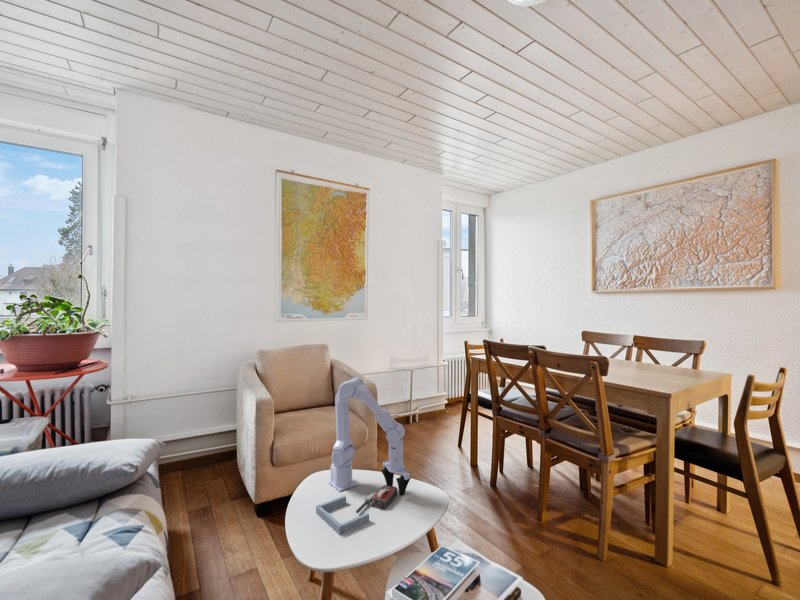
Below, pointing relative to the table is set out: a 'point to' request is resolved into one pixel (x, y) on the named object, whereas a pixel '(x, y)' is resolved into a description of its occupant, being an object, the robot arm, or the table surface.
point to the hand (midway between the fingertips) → (395, 491)
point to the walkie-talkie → (380, 498)
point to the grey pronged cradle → (333, 523)
